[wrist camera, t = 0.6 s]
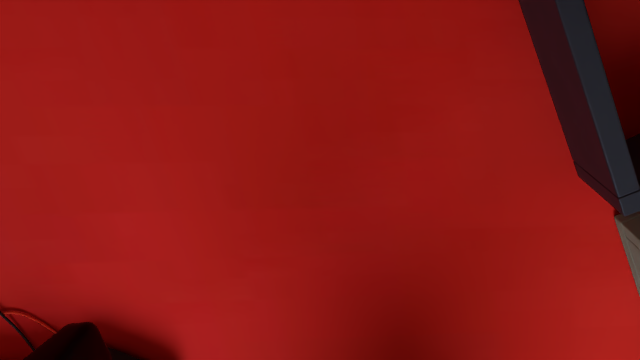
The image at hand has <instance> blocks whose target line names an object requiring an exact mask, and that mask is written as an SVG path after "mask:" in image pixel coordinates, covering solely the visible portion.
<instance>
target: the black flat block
mask: <svg viewBox="0 0 640 360" xmlns="http://www.w3.org/2000/svg"><path fill="white" fill-rule="evenodd" d="M4 314H18V315H21V316H25V317H27V318H29V319H32V320H34V321H35V322H37V323H39V324H41V325H42V326H44V327H45V328H47V329H48V330H50V331H51V332H53V333H54V334H56V333H57V332H56V331H55V330H53V329H52V328H50V327H49V326H47V325H46V324H44V323H43V322H41V321H39V320H38V319H36V318H34V317H32V316H29V315H27V314H24V313H21V312H15V311H7V312H1V311H0V316H2V317H3V318H4V319H5V320H6V321H7V322H8V323H9V324H10V325H12V326H13V327H14V328H15V329H16V331H17V332H18V333H19V334H20V335H21V336H22V337H23V338H24V340H25V341H26V342H27V343H28V345H29V346H30V347H31V349H32V350H33V351H34V350H35V348H34V347H33V346H32V344H31V343H30V342H29V340H28V339H27V338H26V337H25V335H24V334H23V333H22V332H21V331H20V330H19V329H18V328H17V327H16V326H15V325H14V324H13V323H12V322H11V321H10V320H9V319H8V318H7V317H6V316H5V315H4ZM107 348H108V350H109V352H110V354H111V358H112V360H140V359H137V358H135V357H132V356H130V355H127V354H125V353H122V352H120V351H117V350H115V349H112V348H109V347H107Z"/></svg>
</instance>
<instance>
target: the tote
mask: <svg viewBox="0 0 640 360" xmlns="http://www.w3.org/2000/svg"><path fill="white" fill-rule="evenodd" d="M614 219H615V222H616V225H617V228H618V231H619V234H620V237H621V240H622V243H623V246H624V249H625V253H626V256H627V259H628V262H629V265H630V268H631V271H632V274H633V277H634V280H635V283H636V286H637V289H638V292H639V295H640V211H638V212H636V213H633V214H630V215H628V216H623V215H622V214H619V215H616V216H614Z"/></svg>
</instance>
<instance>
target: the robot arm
mask: <svg viewBox="0 0 640 360" xmlns="http://www.w3.org/2000/svg"><path fill="white" fill-rule="evenodd" d="M23 360H112V358H111V354H110V352H109V350H108V348H107V346H106V344H105V342H104V340H103V338H102V336H101V334H100V332H99V330H98V328H97V327H96V325H95V324H93V323H91V322H82V323H72V324H68V325H66V326H64V327H63V328H62V329H61V330H59V331H58V332H57V333H56V334H54V335H53V336H52V337H51V338H49V339H48V340H47V341H46V342H44V343H43V344H42V345H41V346H39V347H38V348H37V349H36V350H34V351H33V352H32V353H31V354H30V355H28V356H27V357H26V358H25V359H23Z"/></svg>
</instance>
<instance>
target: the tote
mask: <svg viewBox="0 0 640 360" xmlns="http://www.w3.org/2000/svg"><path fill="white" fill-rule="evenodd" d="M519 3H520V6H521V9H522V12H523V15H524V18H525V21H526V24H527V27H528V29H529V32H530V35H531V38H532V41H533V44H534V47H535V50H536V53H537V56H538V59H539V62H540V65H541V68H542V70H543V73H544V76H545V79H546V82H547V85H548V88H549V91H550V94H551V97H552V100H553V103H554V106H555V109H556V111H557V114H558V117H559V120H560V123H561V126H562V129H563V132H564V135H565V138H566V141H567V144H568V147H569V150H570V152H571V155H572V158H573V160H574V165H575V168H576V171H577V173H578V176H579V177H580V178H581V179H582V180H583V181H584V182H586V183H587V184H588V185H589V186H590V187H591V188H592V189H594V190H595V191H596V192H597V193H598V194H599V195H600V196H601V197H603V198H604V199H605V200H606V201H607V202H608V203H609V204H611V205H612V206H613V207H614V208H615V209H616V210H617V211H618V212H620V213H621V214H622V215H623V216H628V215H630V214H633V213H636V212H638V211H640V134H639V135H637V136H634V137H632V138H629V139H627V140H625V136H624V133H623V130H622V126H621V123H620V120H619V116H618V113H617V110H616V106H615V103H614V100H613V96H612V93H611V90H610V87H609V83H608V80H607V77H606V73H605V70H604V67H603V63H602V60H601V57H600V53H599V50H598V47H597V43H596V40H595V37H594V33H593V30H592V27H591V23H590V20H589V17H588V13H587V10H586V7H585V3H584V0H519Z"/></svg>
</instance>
